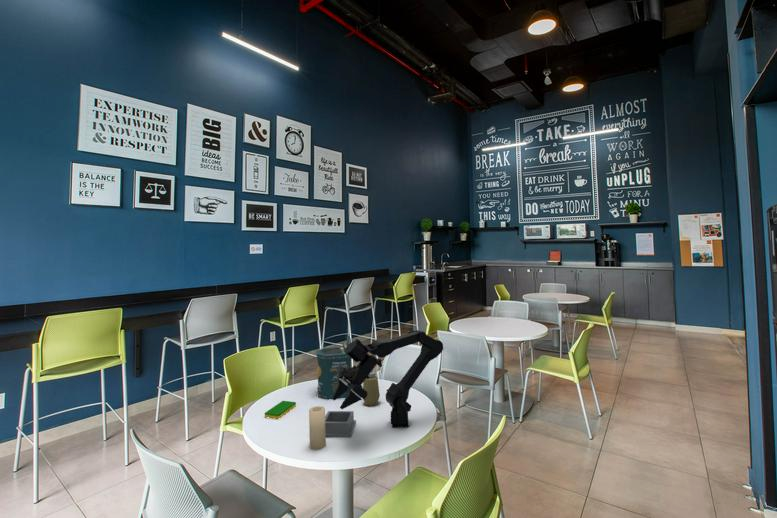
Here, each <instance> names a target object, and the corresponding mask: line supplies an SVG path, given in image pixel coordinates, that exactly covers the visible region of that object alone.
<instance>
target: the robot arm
mask: <svg viewBox="0 0 777 518" xmlns="http://www.w3.org/2000/svg"><path fill="white" fill-rule="evenodd" d="M416 343H419V344H420V345H421V348H420V353H419V355H418V357H417V358H416V359H415V360H414V362H413V363H412V364H411V366H410V367H409V369H408V370H407V371H406V372H405V374H404V376H403V377H402V378H401V380H400V381H399V382H398V383H394V382H392V383H391V384H390V386H389V387H388V389H386V393H385V402H387V403H388V405H389V406H390V407H391V411H390V424H391V428H409V420H410V419H409V412H411V409H412V404H410V403H409V402H408V401H407V400H408V398H409V393H410V390H411V389H412V387H413V385H414V384H415V383H416V382H417V380H418V378H419V377H420V375H421V374H422V373H423V371H424V370H425V368H427V366H428V364H429V363H430V362H431V361H432V360H434V359H436V358H438V356H439V355H440V354H441V353H442V352H443V350H444V344H443V342H442V341H441V340H440V339H436V338H433V337H432V336H430V335H428V334H426V333H425V332H424V331H421V330H417V329H416V330H415V331H412V332H408V333H406V334H402V335H399V336H396V337H393V338H381V339H374V340H373V341H371V342H370V343H368V344H365V345H364V344H363V343H362V341H361V340H360V339H358V338H355V340H353V341H351V343H350V344H348V346H347V347H346V349H345V353H346V354H347V355H348V356H349V357H351V358H352V359H351V360H353V361H354V362H355V363H358V364H356V365H353V366H351V367H349V366H344V365H341V364H339V366H338V369H337V371H336V373H338V375H337V376H338V377H339V379H338V378H337V380H338V386H337V388H336V391H335V393H334V396H333V398H332V399H331V400H333V401H336V400H338V399H337V398H339V397H340V396H341V395H342V394H344V393H345V392H346V391H347V390H348V395H347V396H346V398H344V399H343V401H342V403H341V405H340V407H339V408H340V409H341V410H344V409H346V408H348V407H349V406H352V405H354V404H355V403H358V402H359V401H362V400H363V399H364V400H365V398H366V397H367V396H368V394H367V391H366V390H364V389H363V382H364V381H365V379H366V378H367V379H369V378H370V377H369V376H368V375H369V374H370V373H371V371H372V370H373V371H374V369H375V368H376V366H378V367H379V368H382V367H383V364H382V362H383V361H382V358H385V357H388V356H390V355H391V354H393V352H394V351H396V350H397V349H398V350H399V349H402V348H405V347H407V346H410V345H413V344H416ZM376 356H377V357H378V358H377V357H376ZM347 385H348V386H350V388H351V389H352V391H351V390H350V388H349V387H348V386H347ZM364 400H363V401H364Z"/></svg>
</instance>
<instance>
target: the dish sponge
mask: <svg viewBox="0 0 777 518" xmlns="http://www.w3.org/2000/svg"><path fill="white" fill-rule="evenodd" d="M294 407H295V408H296V407H297V402H296V401H290V400H289V401H288V400H282V401H280V402H279V403H277V404H276V405H273V407H271V408H269V409H268V410H267V411H265V412H264V418H265V417H269V418H268V419H270V418H275V419H274V420H280V419H282V418H283V417H284V416H286V415H287V414H288V413H290V410H291V411H293V409H294ZM286 413H287V414H286ZM283 415H284V416H283ZM282 416H283V417H282ZM279 418H280V419H279Z"/></svg>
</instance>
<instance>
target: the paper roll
mask: <svg viewBox="0 0 777 518" xmlns="http://www.w3.org/2000/svg"><path fill="white" fill-rule="evenodd" d="M325 416H326V408H325V407H324V406H321V405H320V406H319V405H318V406H312V407H311V408H309V409H308V424H309V425H308V428H309V432H308V433H309V449H311V450H314V451H319V450H323V449H324V448H326V446H327V445H326V444H327V441H326V440H327V439H326V438H327V437H326V434H325Z"/></svg>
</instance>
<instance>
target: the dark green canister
mask: <svg viewBox="0 0 777 518" xmlns="http://www.w3.org/2000/svg"><path fill="white" fill-rule="evenodd" d="M351 342H352V338H351V337H350V335H349V334H348V332H346V341H345V342H343V343H342V346H330V347H324V348H320V349H317V350H316V360H317V389H316V390H317V398H318V399H323V400H326V399H327V400H328V401H330V400H329V399H331V400H333V399H332V398H333V396H334V393H335V391H336V388H337V386H338V380H337V378H338V379H339V377H338V376H337V375H338V373H336V371H337V369H338V366H339V364H341V365H344V366H349V367H352V360H353V359H352V358H351V357H349V356H348V355H347V354H346V353H345V349H346V347H347V346H348V344H350V343H351ZM347 386H348V385H347ZM348 387H349V388H350V386H348ZM350 390H351V391H352V389H351V388H350ZM347 395H348V390H347V391H346V392H345V393H344V394H342V395H341V396H340V397H339V398H337V399H336V400H339V399H345V398H346V396H347ZM327 400H326V401H327Z"/></svg>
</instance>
